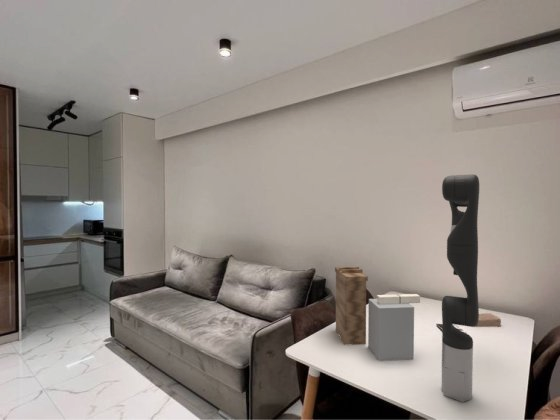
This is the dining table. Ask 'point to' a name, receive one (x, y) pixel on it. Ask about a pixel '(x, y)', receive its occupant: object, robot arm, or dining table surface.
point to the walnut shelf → (351, 304)
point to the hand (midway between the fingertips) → (458, 274)
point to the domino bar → (398, 299)
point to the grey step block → (391, 330)
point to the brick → (488, 320)
